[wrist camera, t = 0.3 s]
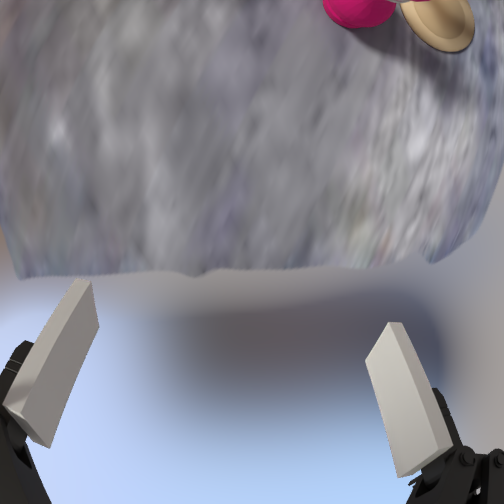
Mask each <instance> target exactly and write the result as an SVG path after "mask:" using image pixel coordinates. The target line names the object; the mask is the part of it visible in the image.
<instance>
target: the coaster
mask: <svg viewBox="0 0 504 504" xmlns="http://www.w3.org/2000/svg"><path fill="white" fill-rule="evenodd" d="M400 7H401V10H402V13H403V15H404V17H405V19H406V21H407V23H408V24H409V26H410V27H411V29H412V30H413V31H414V32H415V34H416V35H417V36H418V37H419V38H421V39H422V40H423V41H424V42H425V43H427V44H428V45H430V46H432V47H433V48H436V49H438V50H441V51H447V52H454V51H459V50H462V49H464V48H465V47H466V46H467V45H468V44H469V43H470V42H471V40H472V38H473V35H474V17H473V13H472V10H471V8H470V5H469V3H468V1H467V0H430V1H423V2H415V1H409V2H406V3H400Z"/></svg>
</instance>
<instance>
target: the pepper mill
mask: <svg viewBox="0 0 504 504" xmlns="http://www.w3.org/2000/svg"><path fill="white" fill-rule="evenodd" d="M409 1H415V2H423V1H430V0H323V6H324V9H325V11H326V13H327V14H328V16H329V17H330V18H331V19H332V20H333V21H334V22H336V23H337V24H339V25H341V26H344V27H347V28H361V27H374V26H377V25H380V24H382V23H383V22H385V21H386V20H388V19H389V18H390V16H391V15H392V13H393V12H394V10H395V7H396V3H406V2H409Z"/></svg>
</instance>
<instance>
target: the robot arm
mask: <svg viewBox="0 0 504 504" xmlns="http://www.w3.org/2000/svg"><path fill="white" fill-rule="evenodd" d="M98 329H99V323H98V318H97V313H96V308H95V303H94V296H93V289H92V283H91V281H87V280H83V279H78V278H76V279H75V280H74V282H73V283H72V285H71V286H70V288H69V289H68V291H67V292H66V294H65V295H64V297H63V298H62V300H61V301H60V303H59V304H58V306H57V307H56V309H55V310H54V312H53V314H52V315H51V317H50V318H49V320H48V322H47V323H46V325H45V326H44V328H43V330H42V331H41V333H40V335H39V336H38V338H37V340H36V342H35V343H32V342H29V341H26V340H25V341H24V342H22V343H21V344H20V345H19V346H18V347H16V349H15V350H14V352H13V353H12V355H11V357H10V360H9V361H8V362H7V364H6V366H5V369H3V371H2V373H1V375H0V504H52V503H51V501H50V499H49V497H48V495H47V493H46V490H45V488H44V486H43V484H42V481H41V479H40V477H39V474H38V472H37V470H36V467H35V464H34V462H33V459H32V457H31V454H30V452H29V449H28V446H27V444H26V442H25V441H26V438H27V435H28V436H29V437H30V439H31V440H32V441H33V442H35V443H38V444H40V445H42V446H45V447H47V448H50V447H51V444H52V441H53V438H54V435H55V433H56V430H57V427H58V424H59V421H60V419H61V416H62V413H63V411H64V408H65V406H66V403H67V400H68V398H69V395H70V393H71V390H72V388H73V385H74V383H75V381H76V378H77V376H78V374H79V371H80V369H81V367H82V364H83V362H84V360H85V357H86V355H87V353H88V351H89V348H90V346H91V344H92V342H93V340H94V338H95V335H96V333H97V331H98ZM365 362H366V365H367V368H368V372H369V375H370V378H371V381H372V385H373V388H374V391H375V395H376V398H377V401H378V405H379V408H380V412H381V415H382V419H383V422H384V426H385V430H386V433H387V437H388V441H389V444H390V449H391V453H392V457H393V461H394V465H395V469H396V473H397V477H398V478H401V477H405V476H410V475H413V474H414V473H416V472H417V471H419V470H420V469H421V472H422V474H421V475H419V476H418V477H416V478H415V479H413V480H412V481H410V482H409V484H408V485H409V486H410V485H412V484H413V483H415V482H416V484H415V485H414V486H413V490H412V492H411V495H410V497H409V498H408V500H407V503H406V504H504V451H502V450H501V449H494V450H493V451H491V452H490V453H489V454H488V455H486V454H475V452H474V451H473V449H471V448H470V447H468V446H463V444H462V442H461V440H460V437H459V434H458V432H457V429H456V426H455V424H454V421H453V419H452V416H450V414H451V413H450V411H449V409H448V408H447V404H446V401H445V399H444V396H443V395H442V394H441V393H440V392H439V390H438V389H437V388H431V386H430V384H429V381H428V379H427V377H426V374H425V373H424V370H423V367H422V365H421V363H420V361H419V359H418V356H417V354H416V352H415V350H414V348H413V345H412V344H411V341H410V339H409V337H408V335H407V333H406V331H405V329H404V327H403V325H402V323H396V322H388V324H387V325H386V327H385V329H384V331H383V333H382V334H381V336H380V338H379V339H378V341H377V343H376V344H375V346H374V347H373V349H372V351H371V352H370V354H369V355H368V357H367V359H366V360H365ZM480 487H481V489H480V493H479V494H478V495H477V494H476V490H477V489H478V488H480Z"/></svg>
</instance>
